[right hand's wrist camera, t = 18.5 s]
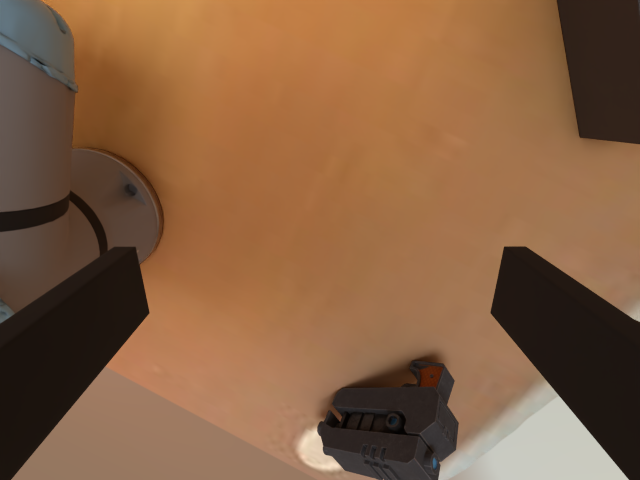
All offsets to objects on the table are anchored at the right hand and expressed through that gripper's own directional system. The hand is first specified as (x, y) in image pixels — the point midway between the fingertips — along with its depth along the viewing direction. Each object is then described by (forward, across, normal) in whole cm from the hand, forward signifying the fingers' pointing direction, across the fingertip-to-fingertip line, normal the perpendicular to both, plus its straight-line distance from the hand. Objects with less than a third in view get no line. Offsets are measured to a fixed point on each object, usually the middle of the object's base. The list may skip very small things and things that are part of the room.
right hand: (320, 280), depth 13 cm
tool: (+29, -9, +33) cm, 45 cm away
